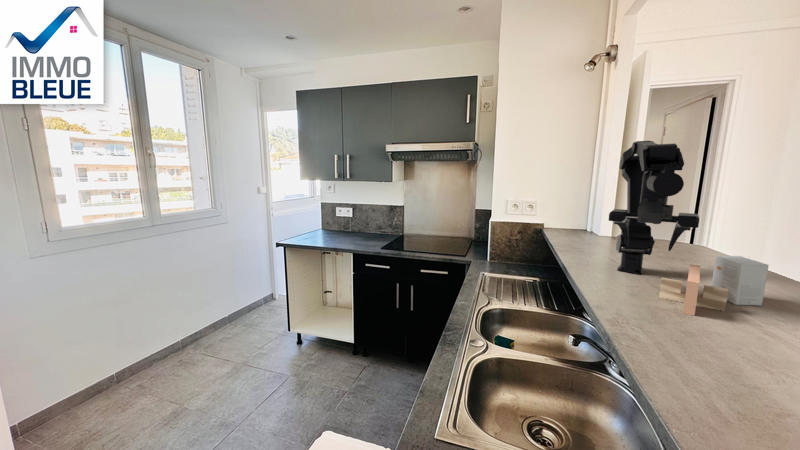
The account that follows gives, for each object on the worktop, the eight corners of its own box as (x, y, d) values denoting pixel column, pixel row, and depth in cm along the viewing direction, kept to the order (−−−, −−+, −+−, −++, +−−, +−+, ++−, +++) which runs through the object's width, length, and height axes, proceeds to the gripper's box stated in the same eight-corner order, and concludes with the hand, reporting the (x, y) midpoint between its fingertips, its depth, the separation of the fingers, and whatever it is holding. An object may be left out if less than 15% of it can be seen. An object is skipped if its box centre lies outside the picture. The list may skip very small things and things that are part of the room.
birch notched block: (659, 295, 82) (662, 277, 81) (724, 308, 74) (727, 288, 73) (658, 297, 81) (661, 279, 80) (724, 311, 72) (728, 291, 71)
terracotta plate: (686, 292, 83) (690, 264, 82) (696, 294, 82) (700, 265, 81) (682, 313, 72) (687, 280, 71) (694, 315, 71) (699, 283, 69)
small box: (762, 306, 74) (770, 264, 72) (734, 305, 75) (741, 264, 73) (734, 293, 82) (740, 255, 80) (709, 292, 83) (715, 254, 81)
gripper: (607, 194, 83) (602, 249, 86) (704, 197, 70) (694, 261, 73) (614, 190, 91) (609, 240, 94) (702, 192, 78) (693, 250, 81)
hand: (647, 247), depth 85 cm, fingers open, 9 cm apart
